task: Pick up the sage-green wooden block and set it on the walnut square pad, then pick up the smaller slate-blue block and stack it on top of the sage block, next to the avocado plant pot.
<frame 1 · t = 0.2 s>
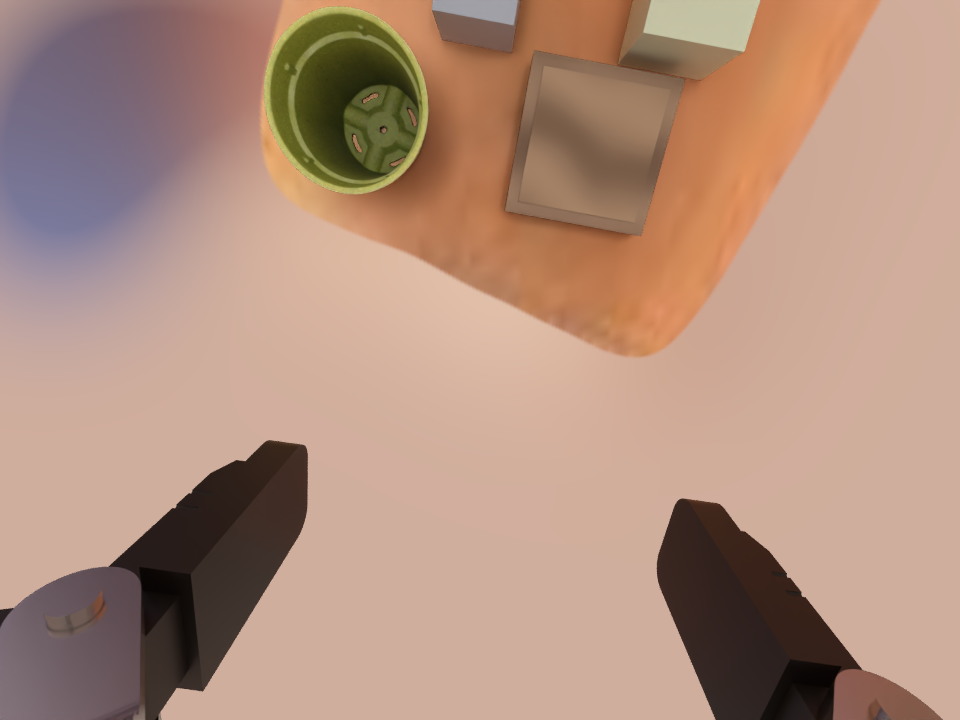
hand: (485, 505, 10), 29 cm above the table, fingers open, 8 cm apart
plant pot: (384, 132, 33), on the table
sage block: (671, 23, 30), on the table
walnut square pad: (582, 153, 33), on the table
slate block: (483, 4, 31), on the table
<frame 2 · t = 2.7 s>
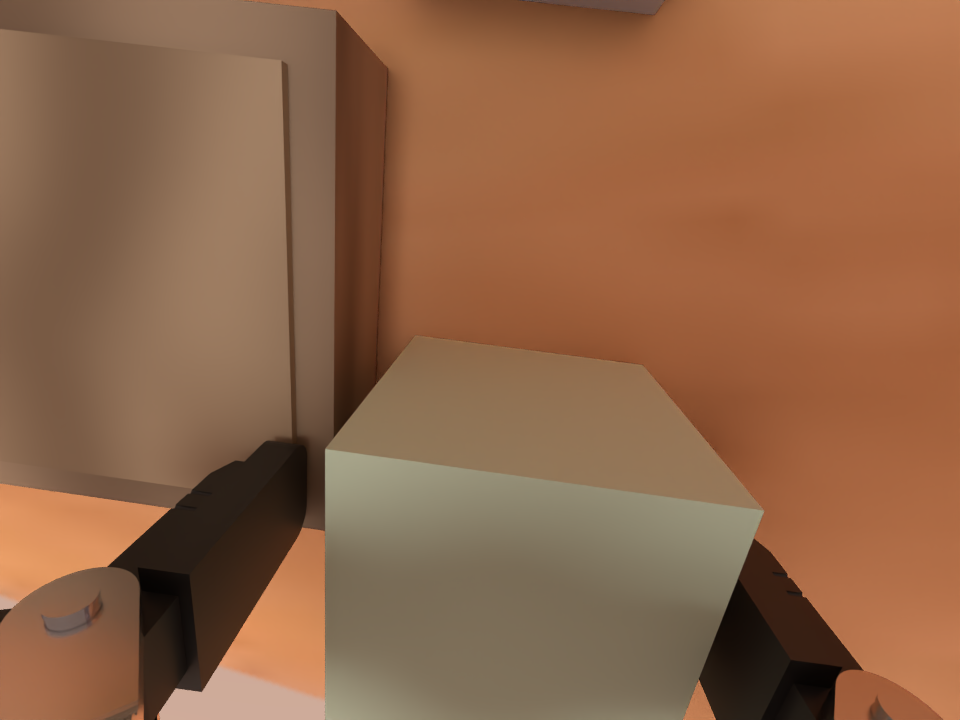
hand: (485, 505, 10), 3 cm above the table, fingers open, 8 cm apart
sage block: (512, 448, 13), on the table
walnut square pad: (189, 269, 12), on the table
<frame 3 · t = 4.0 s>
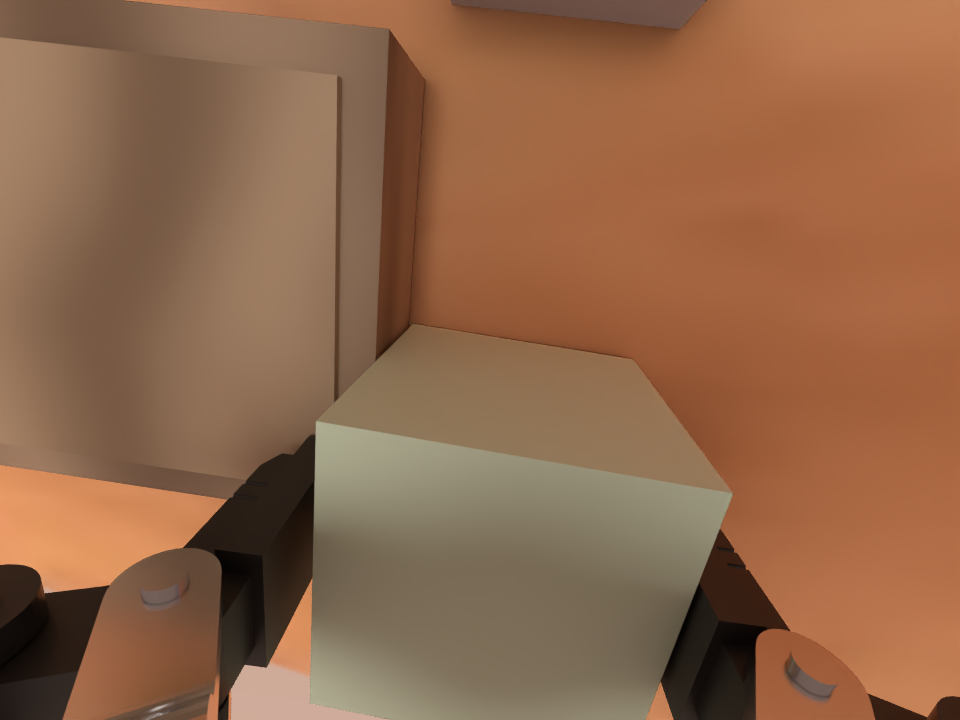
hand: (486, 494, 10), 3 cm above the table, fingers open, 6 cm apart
sage block: (504, 438, 13), on the table, touching gripper, walnut square pad
walnut square pad: (229, 269, 12), on the table
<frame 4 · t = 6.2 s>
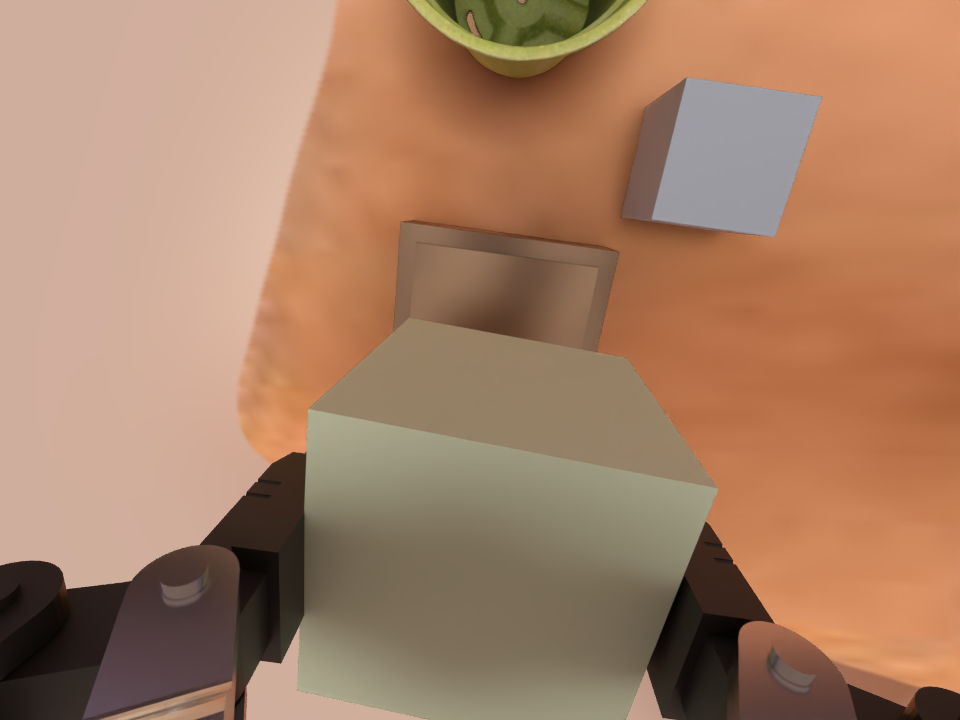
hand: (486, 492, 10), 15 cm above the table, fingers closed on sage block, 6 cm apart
plant pot: (520, 1, 20), on the table
sage block: (497, 434, 13), point 12 cm above the table, touching gripper
walnut square pad: (495, 326, 25), on the table
slate block: (682, 171, 22), on the table
when the fingers open (5 cm above the table, at t = 8.4 s): sage block stays where it is, resting on walnut square pad.
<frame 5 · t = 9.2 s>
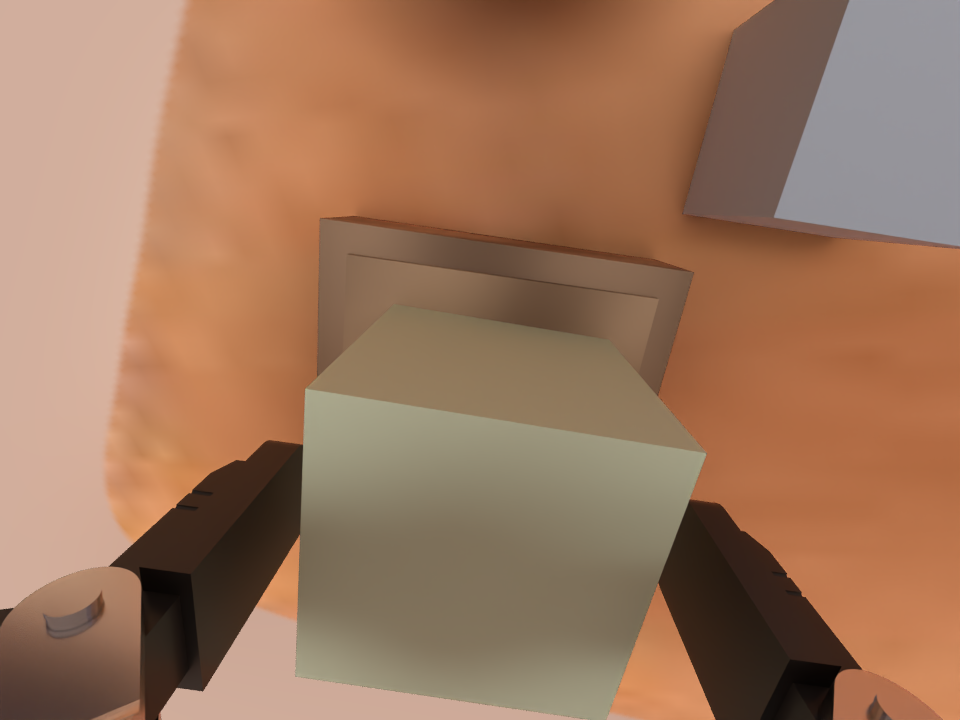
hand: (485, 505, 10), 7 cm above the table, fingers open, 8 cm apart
sage block: (484, 418, 13), point 3 cm above the table, touching walnut square pad
walnut square pad: (484, 378, 16), on the table
slate block: (786, 140, 13), on the table
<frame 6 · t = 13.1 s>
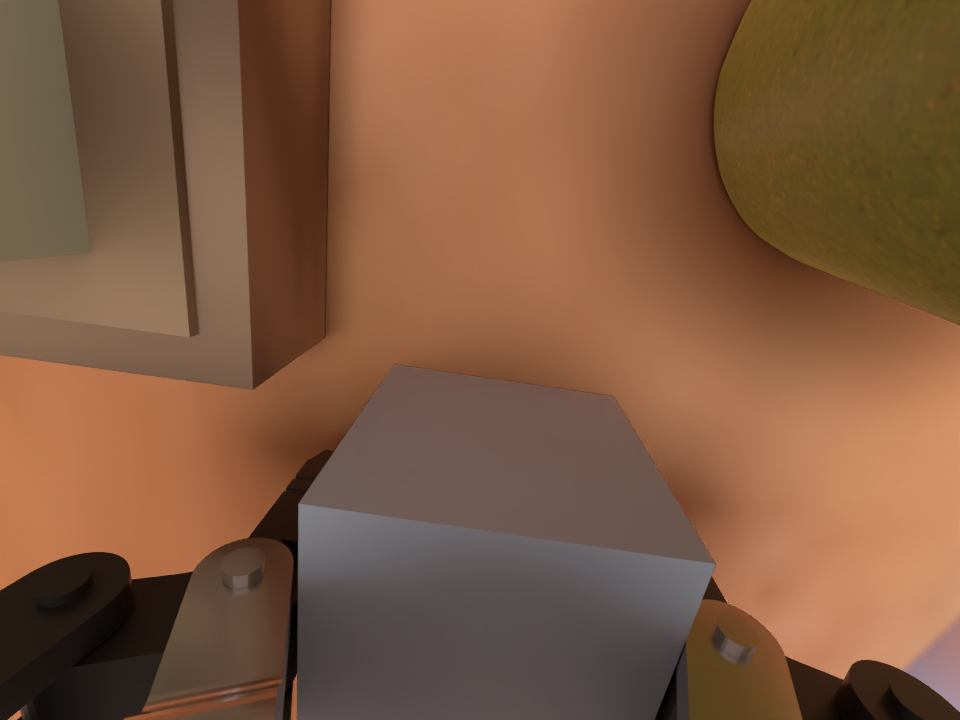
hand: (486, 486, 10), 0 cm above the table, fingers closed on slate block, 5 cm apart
plant pot: (878, 94, 8), on the table
walnut square pad: (59, 41, 8), on the table
slate block: (488, 474, 11), on the table, touching gripper
when the fingers open (11 cm above the table, at t = 18.7 s): slate block stays where it is, resting on sage block.
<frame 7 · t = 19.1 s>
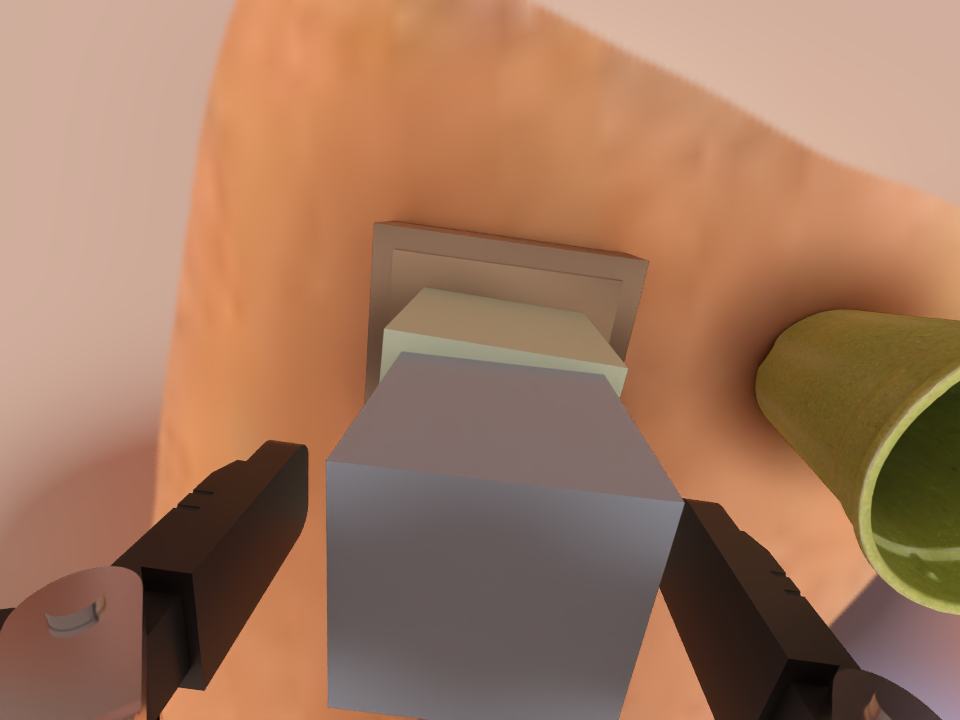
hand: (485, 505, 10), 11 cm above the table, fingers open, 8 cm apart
plant pot: (820, 371, 20), on the table
sage block: (491, 374, 17), point 3 cm above the table, touching slate block, walnut square pad
walnut square pad: (493, 348, 20), on the table
slate block: (491, 451, 12), point 9 cm above the table, touching sage block
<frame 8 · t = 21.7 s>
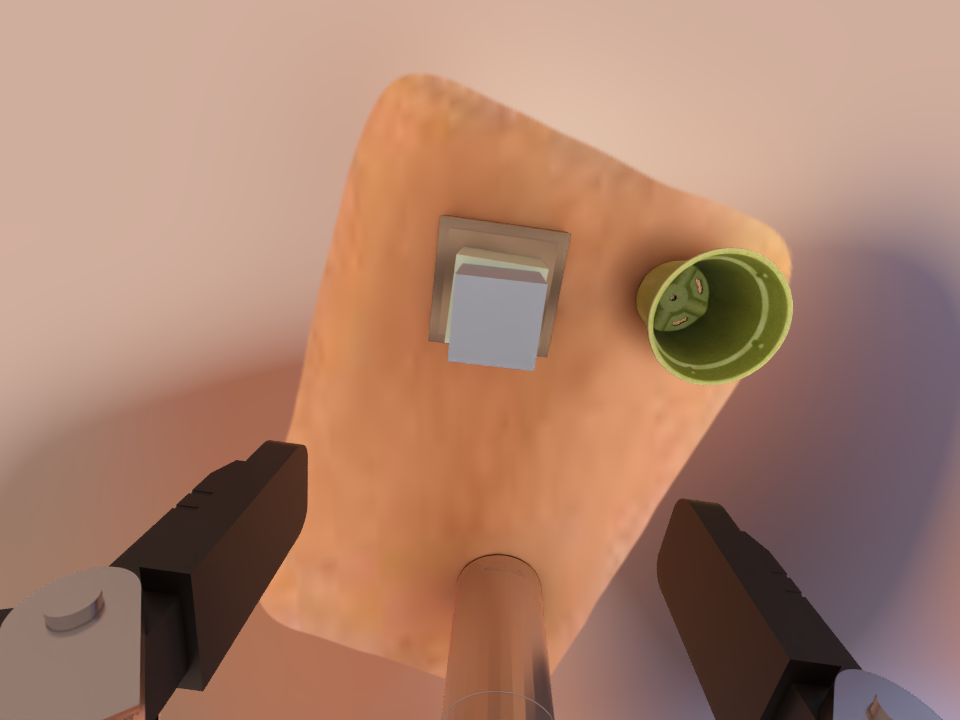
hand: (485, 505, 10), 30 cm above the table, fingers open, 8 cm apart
plant pot: (671, 295, 38), on the table
sage block: (495, 291, 35), point 3 cm above the table, touching slate block, walnut square pad
walnut square pad: (496, 283, 38), on the table
slate block: (496, 305, 29), point 9 cm above the table, touching sage block
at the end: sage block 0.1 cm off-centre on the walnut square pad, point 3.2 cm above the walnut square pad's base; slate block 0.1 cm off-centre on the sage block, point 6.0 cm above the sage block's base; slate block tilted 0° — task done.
